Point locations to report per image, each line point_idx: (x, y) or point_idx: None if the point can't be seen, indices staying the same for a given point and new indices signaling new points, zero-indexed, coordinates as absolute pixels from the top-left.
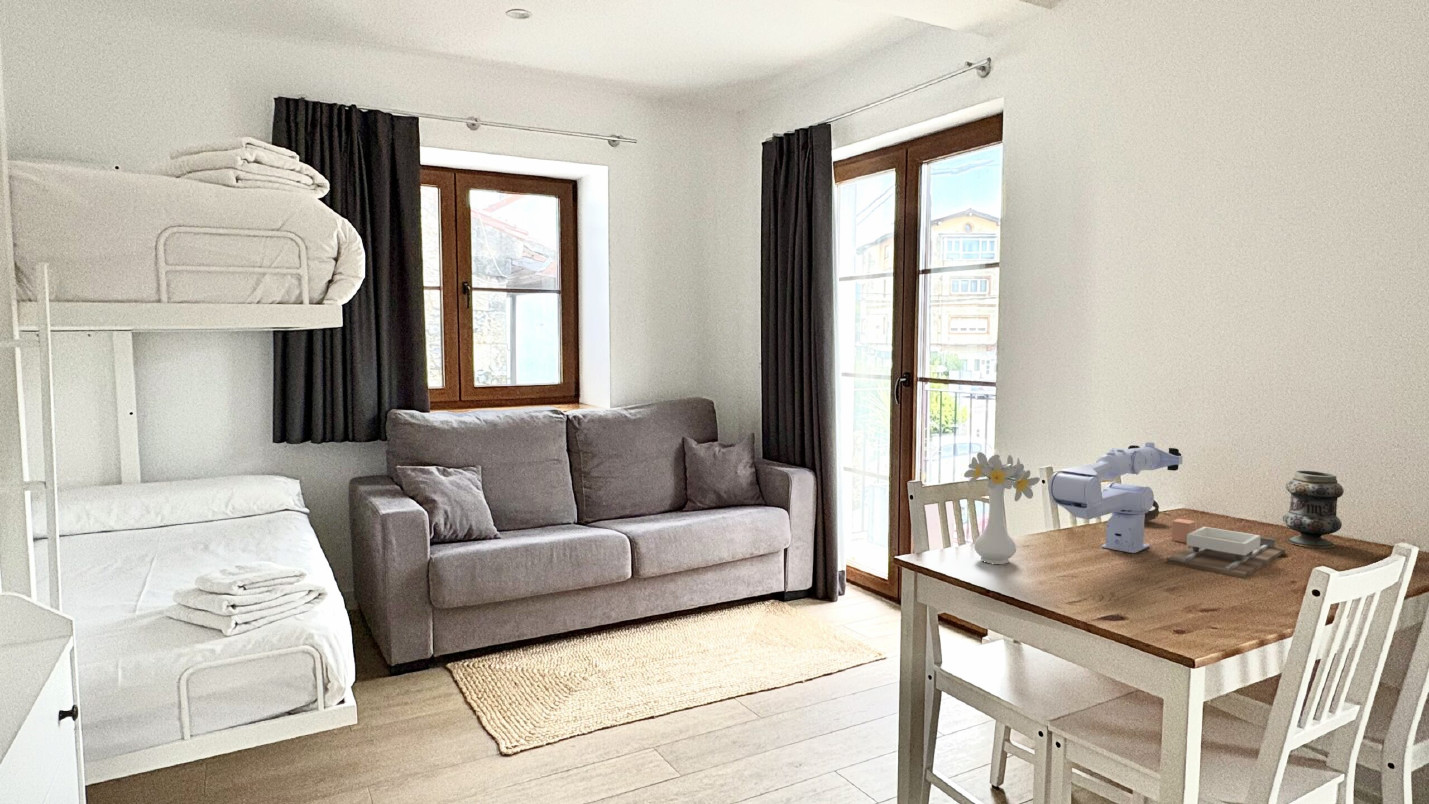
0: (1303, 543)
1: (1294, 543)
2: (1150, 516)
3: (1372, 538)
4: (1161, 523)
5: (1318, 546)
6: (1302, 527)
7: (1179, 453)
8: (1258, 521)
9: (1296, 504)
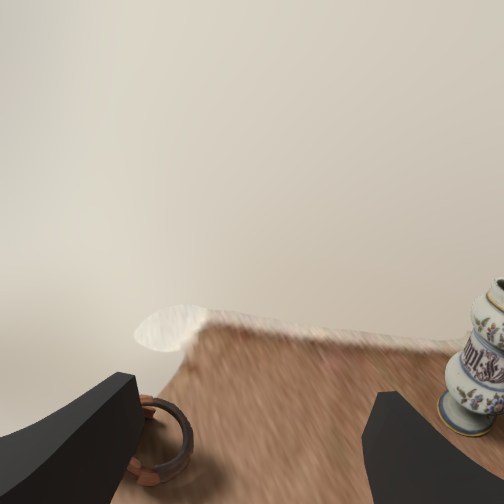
0: (479, 429)
1: (467, 434)
2: (177, 468)
3: (461, 340)
4: (201, 448)
5: (493, 425)
6: (500, 413)
7: (424, 423)
8: (336, 341)
9: (502, 371)
